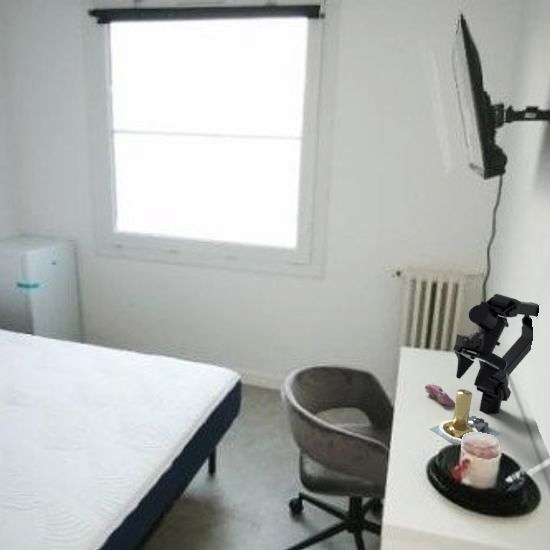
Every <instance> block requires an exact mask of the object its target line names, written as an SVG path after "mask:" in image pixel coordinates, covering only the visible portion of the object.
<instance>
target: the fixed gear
mask: <svg viewBox="0 0 550 550" xmlns="http://www.w3.org/2000/svg"><path fill="white" fill-rule="evenodd" d="M468 425H469V426H470V427H471V429H472V428H475V429H476V430H477V431H478V432H480V431H483V432H486V431H487V429H488V427H489V423H488V421H487V422H485V419H484V418H479V417H477V415H476V416H475V415H471V416H469V418H468Z"/></svg>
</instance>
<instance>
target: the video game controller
mask: <svg viewBox="0 0 550 550" xmlns="http://www.w3.org/2000/svg"><path fill="white" fill-rule="evenodd" d="M424 389H425V392H426V394H428V395H429V396H430V397H432V398H433V399H434V400H436V401H437V403H440V404H443V405H444V406H447V407H452V406H455V403H456V401H454V399H452V398H451V397H450V396H449V395H448V393H446V392H445V391H444V389H443V388H442V387H441V386H439V385H437V384H434V383H433V382H431V383H428V384H426V385H425V386H424Z"/></svg>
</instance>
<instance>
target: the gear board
mask: <svg viewBox="0 0 550 550" xmlns="http://www.w3.org/2000/svg"><path fill="white" fill-rule="evenodd" d="M450 421H453V418H452V419H447V420H446V419H445V420H444V421H441V422H440V423H439V425H435V426H433V427H431V428H429V430H430V431H431V432H433V433H434V434H435V435H438V436H439V437H441V438H443V439H445V440H446V441H447V442H450V443H451V444H453V445H455V446H456V445H457V444H458V445H459V444H460V443H461V441H462V439H460V438H456V437H453V436H451V435H449V434H448V433H447V431H445V429H446V424H447V423H448V424H449V423H450ZM471 430H473V432H478V431H477V430H476V429H475V428H472V429H471ZM480 432H482V433H487V434H491V435H494V437H496V436H498V435H500V434H501V432H499V431H497V430H495V429H493V428H492V427H490V426H488V429H487V431H486V432H483V431H480Z"/></svg>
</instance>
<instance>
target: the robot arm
mask: <svg viewBox="0 0 550 550" xmlns="http://www.w3.org/2000/svg"><path fill="white" fill-rule="evenodd" d="M539 305H540V304H539ZM539 305H538V303H536V302H527V301H520V300H519V299H516V298H513V297H509V296H507V295H503V294H500V293H495V294H493V296H491V297H490V298H488V299H487V300H486V301H481V302H480V304H476V305H475V306H473V307H472V308H470V310H469V312H468V318H469V320H470V321H471V323H473V324H474V325H476V326H477V327H478V328H479V329H480V330H479V331H478V332H477V331H476V332H474V333H470V334H469V335H466V334H459V333H458V334H456V336H455V337H456V338H455V344H454V345H453V348H452V351H454V354H455V355H456V358H457V368H456V378H457V380H460V379H461V378H462V377H463V376H464V375H465V374H466V373H467V371H468V370H469V369H470V368H471V367H472V365H473V364H474V363H475V361H474V360H475V359H478V362H479V369H478V372H477V374H476V377H475V379H474V383H473V385H474V386H475V387H476V391H477V392H480V393H482V394H481V400H480V403H479V404H480V405H479V412H482V413H484V414H485V415H497V414H499V413H500V411H501V406H502V402H507V401H508V400H509V399H510V396H511V393H512V391H511V389H510V388H509V381H510V379H509V378H510V375H511V374H512V373H513V371H514V370H515V369H516V368H517V367H518V365H519V364H520V363H521V362H522V361H523V360H524V358H525V357H527V355H528V354H529V353H530V352H531V350H532V349H531V345H532V341H533V327H532V319H531V316H532V317H534V318H535V317H536V318H538V317H537V316H538V313H539ZM518 315H522V316H523V317H522V318H521V323H522V324H521V325H522V326H521V335H520V336H519V337H518V339H517V340H516V341H515V342H514V343H513V344H512V345H511V346H510V347H509V349H508V350H507V351H506V352H505V353H504V355H502V357H501V356H500V355H498V354H495V353H494V351H495V349H496V346H497V347H500V345H501V342H499V339H500V338H501V336H502V334H503V332H504V330H505V328H509V323H508V318H516V317H518Z"/></svg>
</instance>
